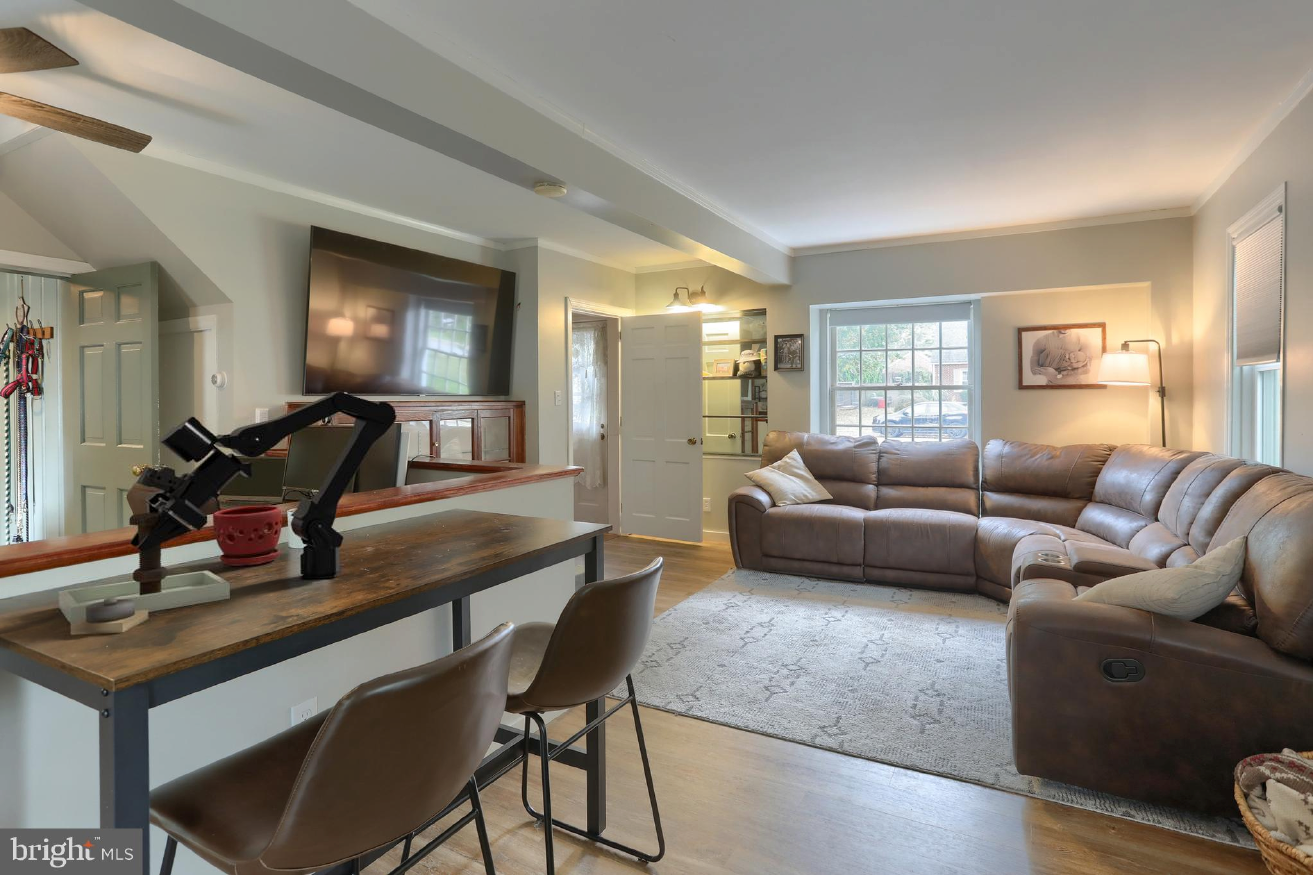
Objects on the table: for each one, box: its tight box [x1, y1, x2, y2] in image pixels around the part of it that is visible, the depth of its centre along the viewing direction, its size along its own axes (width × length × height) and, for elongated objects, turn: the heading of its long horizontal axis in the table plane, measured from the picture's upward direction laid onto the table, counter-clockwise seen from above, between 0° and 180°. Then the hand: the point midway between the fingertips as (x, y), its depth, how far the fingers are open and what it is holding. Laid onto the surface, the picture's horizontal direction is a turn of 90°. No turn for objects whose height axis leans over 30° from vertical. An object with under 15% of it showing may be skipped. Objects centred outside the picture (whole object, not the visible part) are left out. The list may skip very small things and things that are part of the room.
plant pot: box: [212, 505, 283, 567], centre depth 155 cm, size 13×13×12 cm
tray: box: [58, 570, 231, 626], centre depth 122 cm, size 22×14×3 cm, turn 137°
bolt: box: [128, 512, 168, 595], centre depth 121 cm, size 6×5×15 cm
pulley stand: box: [70, 598, 149, 636], centre depth 108 cm, size 7×7×4 cm
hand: (135, 547), depth 120 cm, fingers open, 6 cm apart
